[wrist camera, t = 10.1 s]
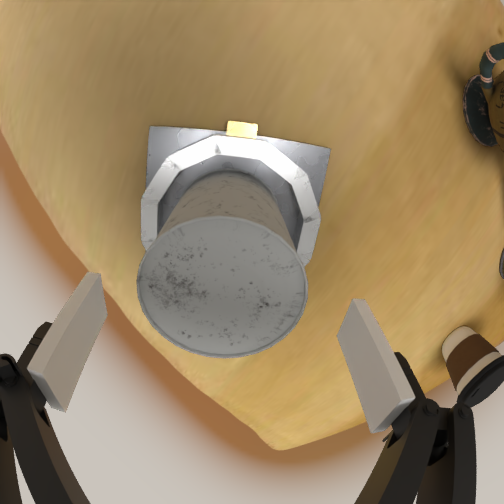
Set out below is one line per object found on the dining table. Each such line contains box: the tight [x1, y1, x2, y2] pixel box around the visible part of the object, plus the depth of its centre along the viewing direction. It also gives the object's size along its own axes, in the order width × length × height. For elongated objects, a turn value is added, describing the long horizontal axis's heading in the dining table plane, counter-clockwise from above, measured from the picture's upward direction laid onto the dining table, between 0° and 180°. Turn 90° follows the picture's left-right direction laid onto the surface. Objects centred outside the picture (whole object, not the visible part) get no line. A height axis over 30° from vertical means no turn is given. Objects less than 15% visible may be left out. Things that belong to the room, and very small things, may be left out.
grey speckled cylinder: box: [137, 168, 308, 358], centre depth 21 cm, size 10×10×12 cm
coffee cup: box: [442, 326, 504, 407], centre depth 34 cm, size 11×11×12 cm
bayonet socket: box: [141, 121, 331, 267], centre depth 26 cm, size 18×16×3 cm
